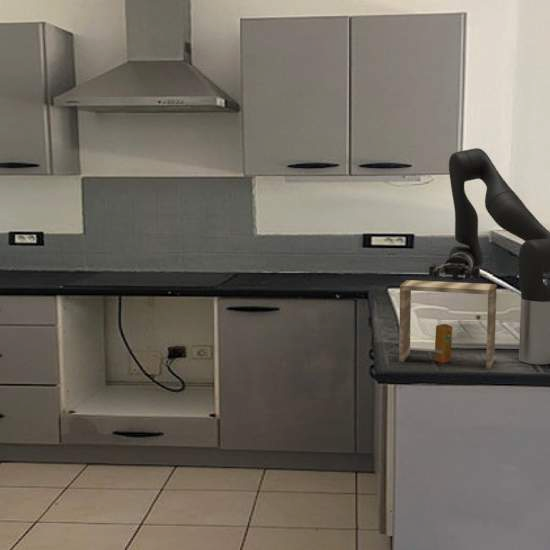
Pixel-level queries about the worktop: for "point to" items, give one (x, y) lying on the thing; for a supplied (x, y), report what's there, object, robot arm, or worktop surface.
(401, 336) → the shelf bay
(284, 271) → the worktop surface
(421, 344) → the tile pad
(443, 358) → the supplement box
